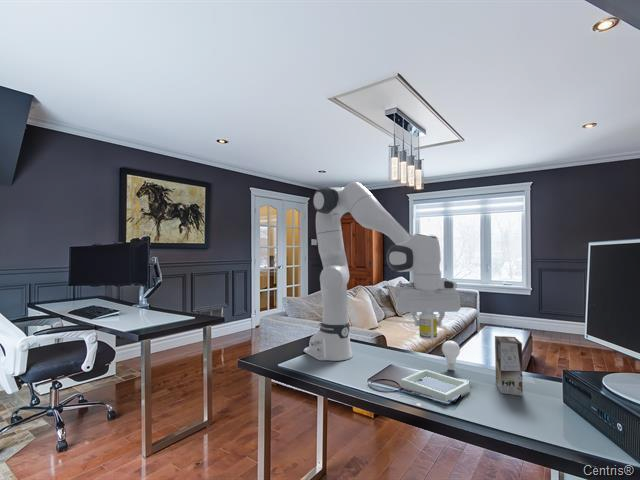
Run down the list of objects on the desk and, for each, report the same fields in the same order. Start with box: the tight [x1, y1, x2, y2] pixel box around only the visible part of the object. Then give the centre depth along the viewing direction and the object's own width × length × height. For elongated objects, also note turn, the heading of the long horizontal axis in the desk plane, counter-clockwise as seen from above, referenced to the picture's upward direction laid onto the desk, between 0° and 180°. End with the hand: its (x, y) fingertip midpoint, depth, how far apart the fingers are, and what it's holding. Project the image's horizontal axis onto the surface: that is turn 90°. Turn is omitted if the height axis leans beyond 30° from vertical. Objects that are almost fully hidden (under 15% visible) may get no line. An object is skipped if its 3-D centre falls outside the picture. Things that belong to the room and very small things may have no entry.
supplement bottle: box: [418, 309, 438, 341], centre depth 111 cm, size 5×5×10 cm
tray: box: [400, 368, 471, 402], centre depth 110 cm, size 16×14×3 cm
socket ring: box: [367, 382, 396, 393], centre depth 114 cm, size 11×11×1 cm
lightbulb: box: [441, 340, 461, 372], centre depth 128 cm, size 6×6×11 cm
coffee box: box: [494, 335, 524, 396], centre depth 111 cm, size 9×6×16 cm
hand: (427, 325), depth 111 cm, fingers closed on supplement bottle, 5 cm apart
